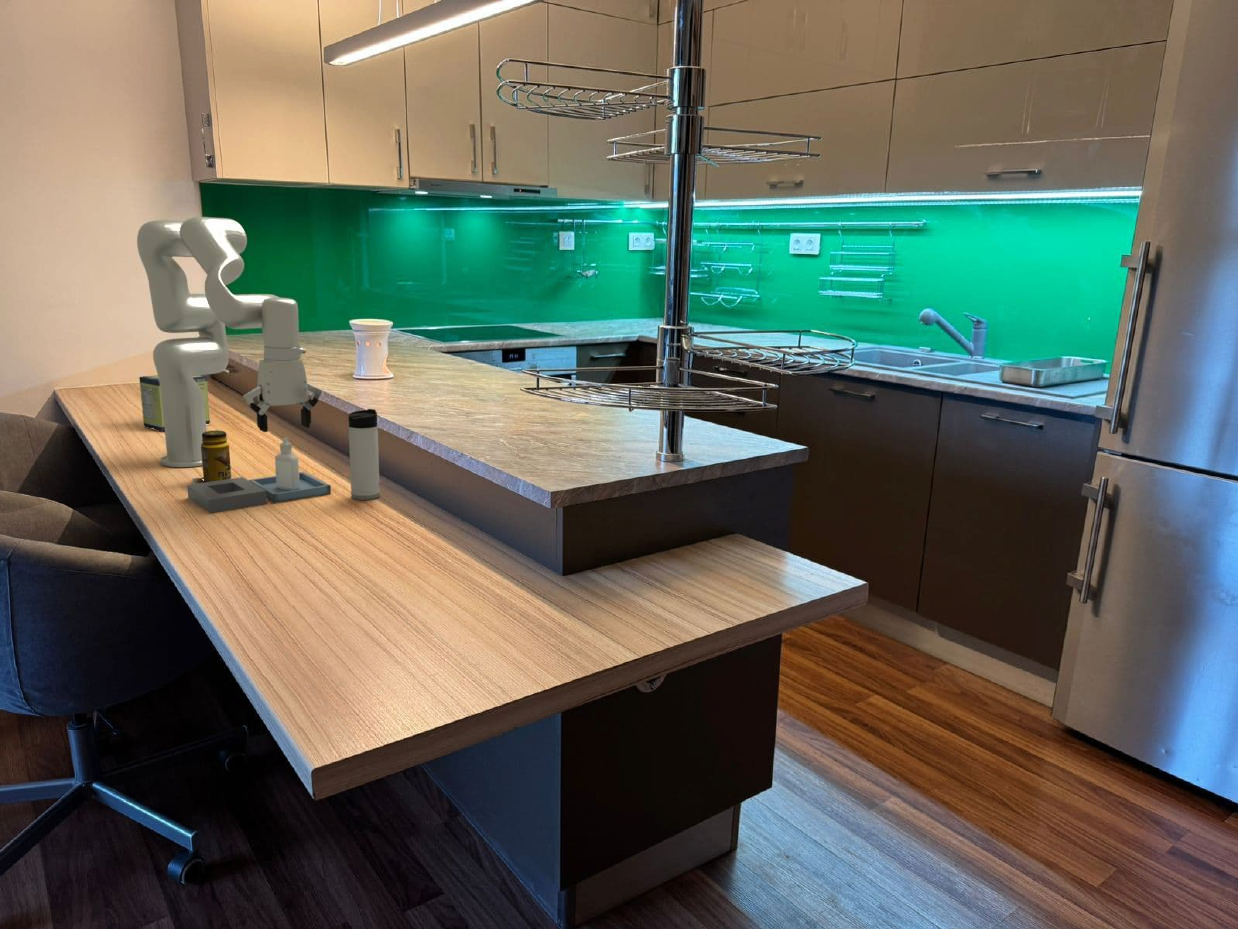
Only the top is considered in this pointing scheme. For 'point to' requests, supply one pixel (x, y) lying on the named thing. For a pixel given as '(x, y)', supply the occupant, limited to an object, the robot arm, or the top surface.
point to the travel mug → (364, 454)
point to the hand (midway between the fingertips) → (284, 428)
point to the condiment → (215, 457)
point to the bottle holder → (226, 494)
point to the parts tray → (307, 489)
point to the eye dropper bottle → (287, 468)
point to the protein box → (154, 400)
